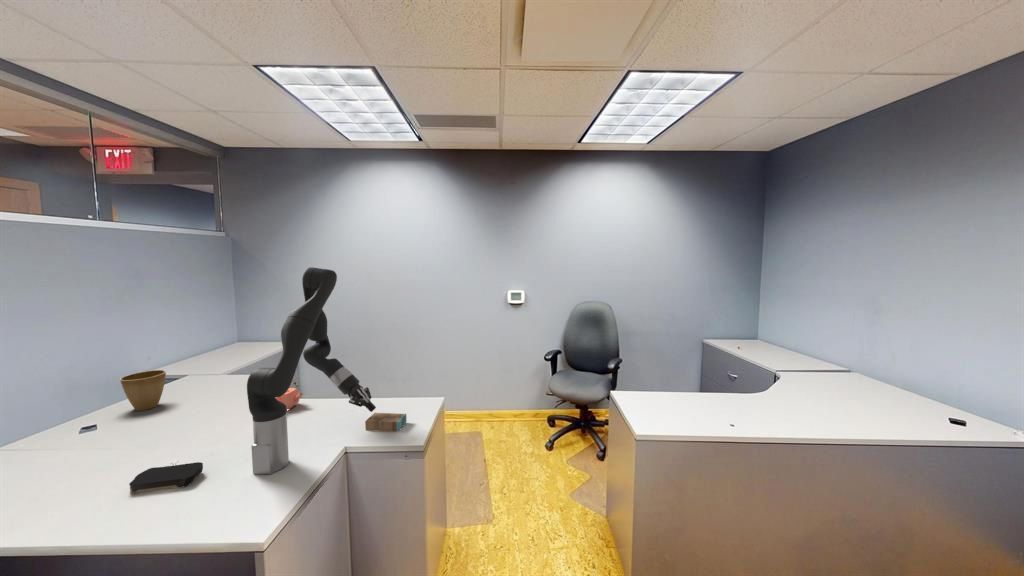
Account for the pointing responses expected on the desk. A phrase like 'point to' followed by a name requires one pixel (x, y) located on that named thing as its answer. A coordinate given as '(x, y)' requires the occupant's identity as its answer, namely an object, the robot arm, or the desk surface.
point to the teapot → (290, 398)
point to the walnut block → (385, 421)
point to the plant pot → (144, 388)
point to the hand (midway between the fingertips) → (373, 409)
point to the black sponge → (165, 477)
